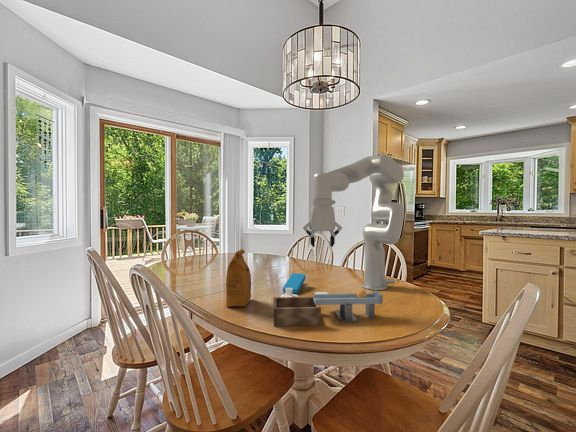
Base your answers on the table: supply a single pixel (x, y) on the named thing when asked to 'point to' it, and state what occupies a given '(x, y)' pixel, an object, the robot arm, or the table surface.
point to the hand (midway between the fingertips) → (322, 246)
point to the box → (296, 311)
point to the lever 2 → (347, 298)
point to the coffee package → (238, 281)
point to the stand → (347, 315)
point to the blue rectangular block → (294, 282)
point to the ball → (361, 294)
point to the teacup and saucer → (288, 293)
